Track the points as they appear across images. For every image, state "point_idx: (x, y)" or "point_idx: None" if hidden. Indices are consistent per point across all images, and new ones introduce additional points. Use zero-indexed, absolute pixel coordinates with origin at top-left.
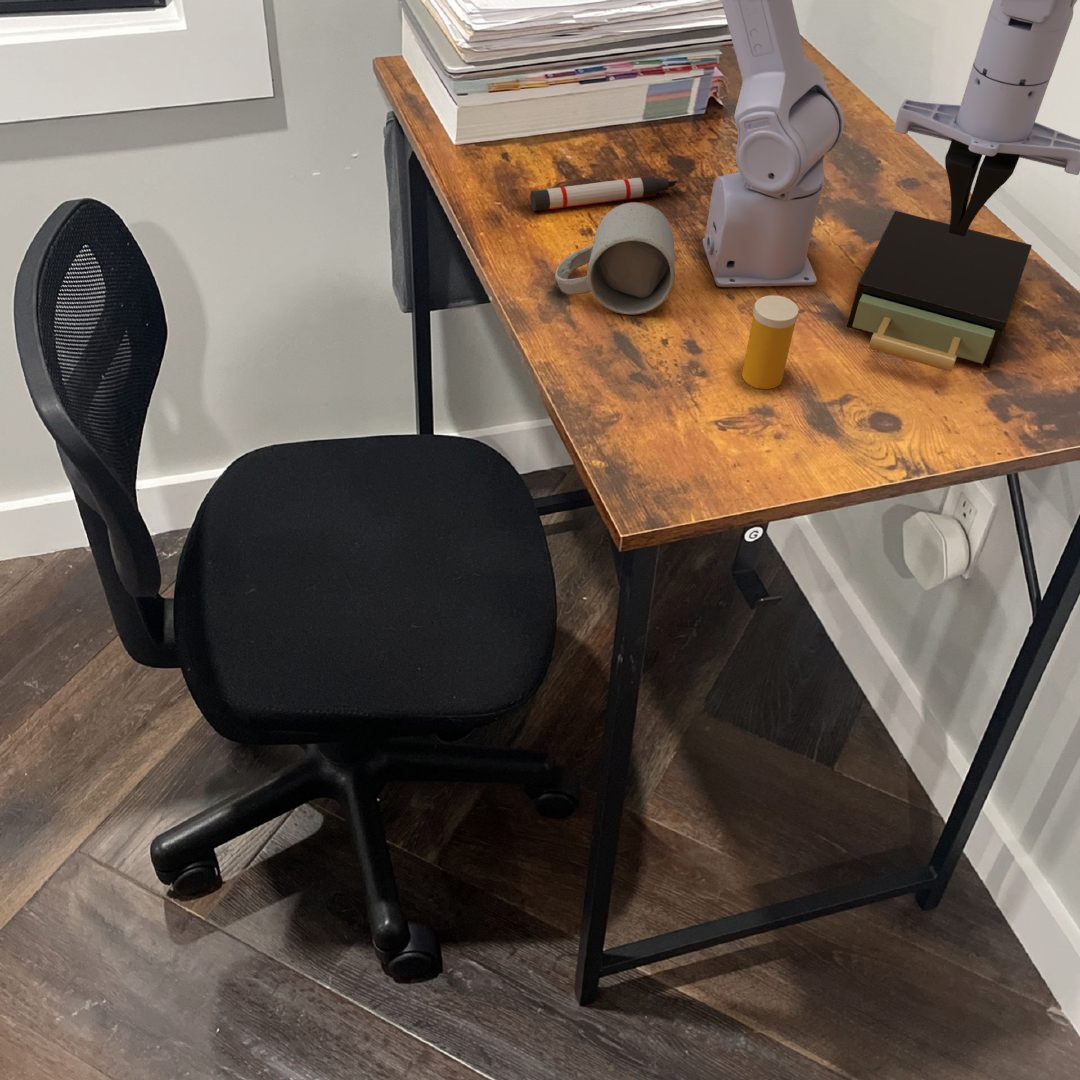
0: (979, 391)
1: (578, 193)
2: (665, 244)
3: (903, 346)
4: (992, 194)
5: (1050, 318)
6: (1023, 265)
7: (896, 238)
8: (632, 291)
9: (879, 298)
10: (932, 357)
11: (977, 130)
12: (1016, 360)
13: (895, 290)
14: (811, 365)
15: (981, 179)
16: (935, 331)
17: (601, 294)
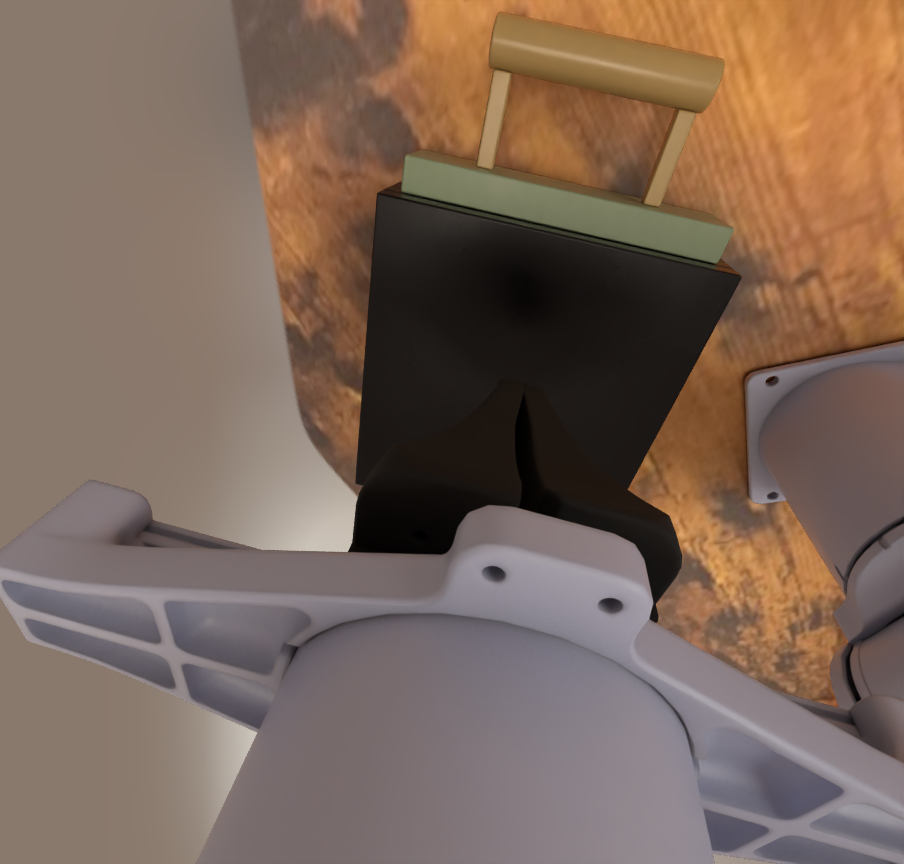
0: (425, 66)
1: None
2: None
3: (635, 49)
4: (441, 432)
5: (321, 366)
6: (362, 422)
7: (608, 466)
8: None
9: (676, 252)
10: (555, 25)
11: (605, 706)
12: (361, 220)
13: (645, 264)
14: (846, 33)
15: (496, 464)
16: (535, 180)
17: None
